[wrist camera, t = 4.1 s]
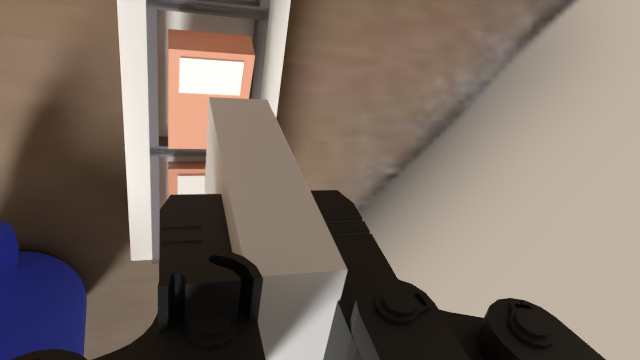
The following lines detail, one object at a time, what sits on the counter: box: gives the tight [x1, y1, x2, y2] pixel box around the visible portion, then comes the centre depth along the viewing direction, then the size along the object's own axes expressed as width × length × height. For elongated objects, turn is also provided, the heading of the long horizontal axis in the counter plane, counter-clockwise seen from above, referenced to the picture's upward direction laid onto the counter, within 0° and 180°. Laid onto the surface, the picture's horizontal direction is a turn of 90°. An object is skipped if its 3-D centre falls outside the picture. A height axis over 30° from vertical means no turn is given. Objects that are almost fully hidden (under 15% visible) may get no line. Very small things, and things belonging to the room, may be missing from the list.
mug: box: [0, 221, 87, 360], centre depth 25 cm, size 8×12×10 cm
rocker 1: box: [168, 161, 206, 198], centre depth 23 cm, size 5×3×2 cm, turn 170°
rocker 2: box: [168, 29, 255, 149], centre depth 20 cm, size 5×3×2 cm, turn 172°
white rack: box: [117, 0, 291, 263], centre depth 23 cm, size 21×7×6 cm, turn 171°
